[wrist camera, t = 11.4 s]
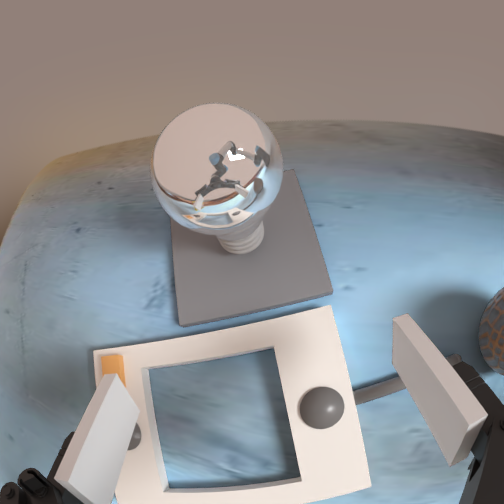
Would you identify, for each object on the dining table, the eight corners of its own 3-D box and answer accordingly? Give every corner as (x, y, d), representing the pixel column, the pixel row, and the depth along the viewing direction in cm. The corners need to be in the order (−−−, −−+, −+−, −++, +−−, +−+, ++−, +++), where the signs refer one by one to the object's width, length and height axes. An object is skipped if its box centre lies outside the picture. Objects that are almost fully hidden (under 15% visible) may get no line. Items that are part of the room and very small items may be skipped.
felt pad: (294, 175, 26) (293, 169, 26) (332, 294, 21) (333, 290, 21) (172, 205, 27) (169, 200, 26) (183, 327, 22) (179, 325, 21)
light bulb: (212, 199, 25) (159, 82, 15) (296, 205, 24) (286, 74, 13) (189, 278, 23) (102, 179, 12) (283, 291, 21) (261, 183, 11)
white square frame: (432, 278, 21) (441, 269, 19) (472, 436, 15) (484, 439, 13) (101, 353, 22) (88, 349, 20) (126, 503, 16) (114, 509, 15)
